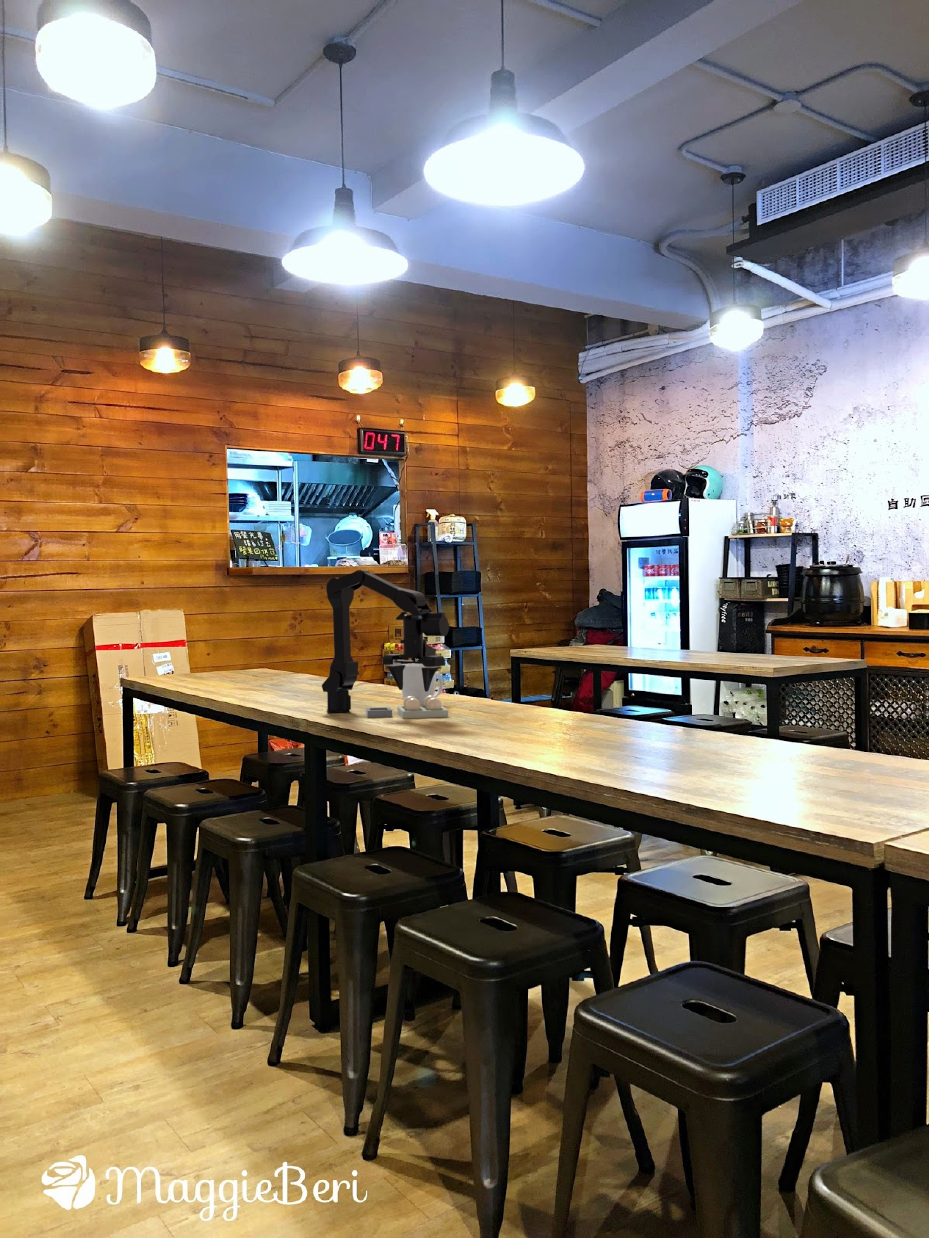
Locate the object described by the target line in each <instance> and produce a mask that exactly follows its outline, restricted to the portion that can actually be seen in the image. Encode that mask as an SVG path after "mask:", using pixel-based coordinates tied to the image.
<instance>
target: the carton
mask: <svg viewBox="0 0 929 1238" xmlns="http://www.w3.org/2000/svg"><path fill="white" fill-rule="evenodd" d="M411 698H415V697H413V696H408V697H406V698H405V699H403V703H402V704H403V705H399V706H398V705H397V706H396V707H397V709H396V711H397V714H398V715H399V716H400V717H401V718H402V719H423V718H424V719H425V718H428V719H429V718H449V710H448V709H447V707H445V706H443V705H442V701H441V700H440V699H439V698H438V697H435V696H432V695H430V696H427V697H426V698H425V700H424V705H421V706H420V709H419V711H408V710H407V709H406V703H407V701H408V700H409V699H411ZM415 699H416V698H415Z"/></svg>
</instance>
